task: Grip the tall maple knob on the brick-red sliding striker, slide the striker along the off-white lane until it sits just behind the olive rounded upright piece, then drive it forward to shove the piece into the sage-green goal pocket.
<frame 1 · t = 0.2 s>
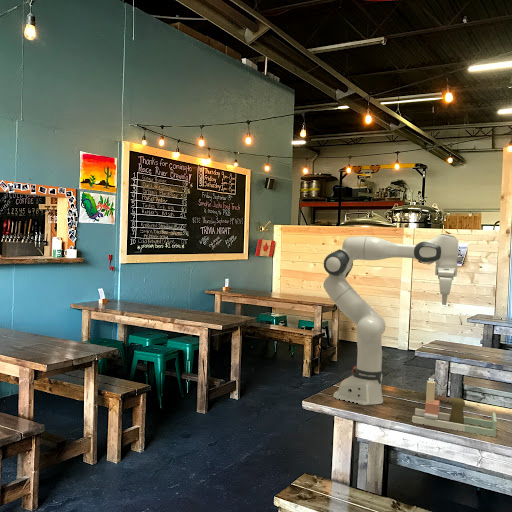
hand: (444, 303, 216), 47 cm above the table, tool pointing down, fingers open, 8 cm apart
striker: (432, 401, 204), point 8 cm above the table, slide at 0.0 cm
lane: (452, 425, 201), on the table
olive rounded upright piece: (456, 426, 200), resting in lane
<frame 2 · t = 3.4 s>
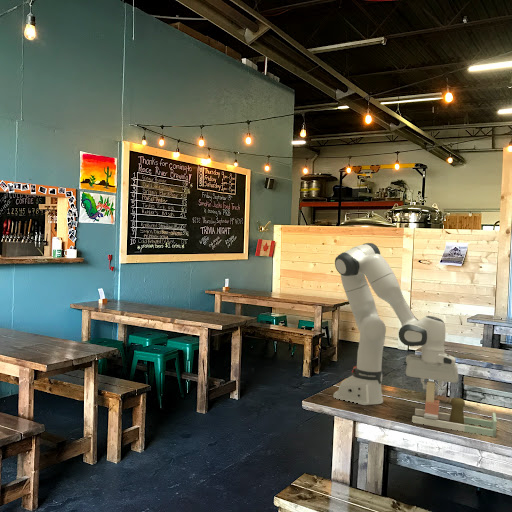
hand: (430, 390, 204), 13 cm above the table, tool pointing down, fingers closed on striker, 3 cm apart
striker: (432, 401, 204), point 8 cm above the table, slide at 0.0 cm, touching gripper
everything else where it was.
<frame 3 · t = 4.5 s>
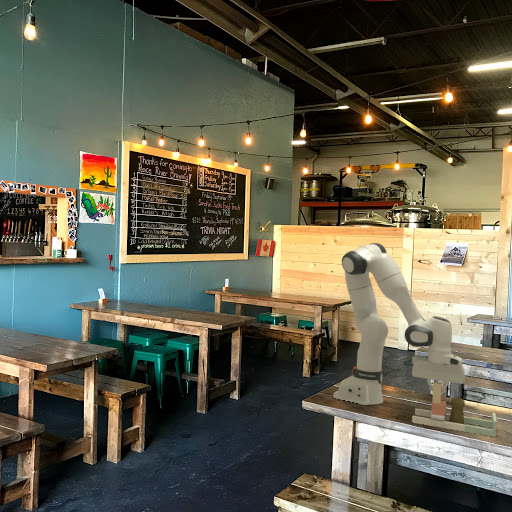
hand: (437, 391, 203), 13 cm above the table, tool pointing down, fingers closed on striker, 3 cm apart
striker: (439, 402, 203), point 8 cm above the table, slide at 2.5 cm, touching gripper
everything else where it was.
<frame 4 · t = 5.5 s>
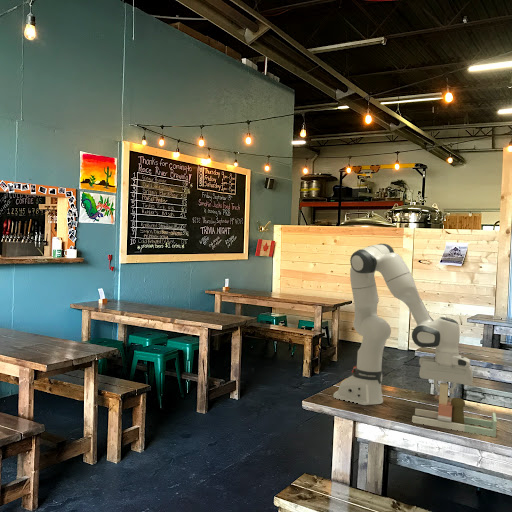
hand: (444, 392, 202), 13 cm above the table, tool pointing down, fingers open, 4 cm apart
striker: (445, 403, 202), point 8 cm above the table, slide at 5.0 cm, touching gripper, olive rounded upright piece
olive rounded upright piece: (456, 426, 200), resting in lane, touching striker
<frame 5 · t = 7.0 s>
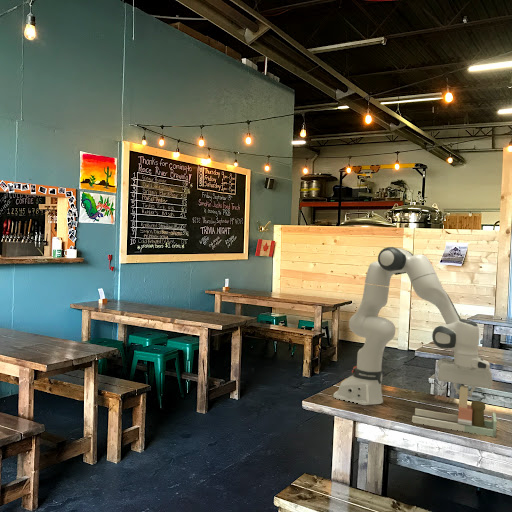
hand: (463, 395, 200), 13 cm above the table, tool pointing down, fingers closed on striker, 3 cm apart
striker: (465, 406, 199), point 8 cm above the table, slide at 12.4 cm, touching gripper, olive rounded upright piece
olive rounded upright piece: (476, 429, 197), resting in lane, touching striker
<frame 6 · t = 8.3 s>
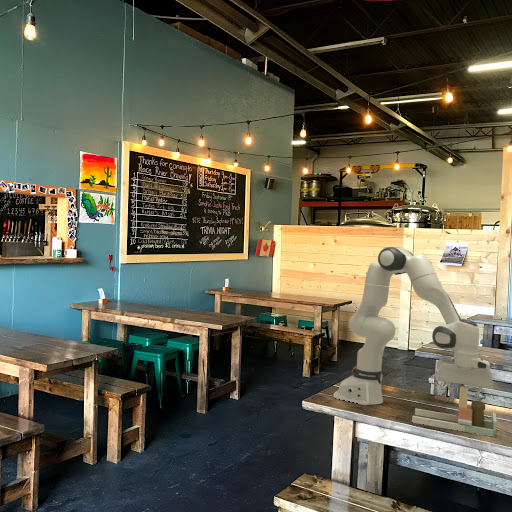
hand: (463, 395, 199), 13 cm above the table, tool pointing down, fingers open, 8 cm apart
striker: (465, 406, 199), point 8 cm above the table, slide at 12.4 cm
olive rounded upright piece: (476, 429, 197), resting in lane
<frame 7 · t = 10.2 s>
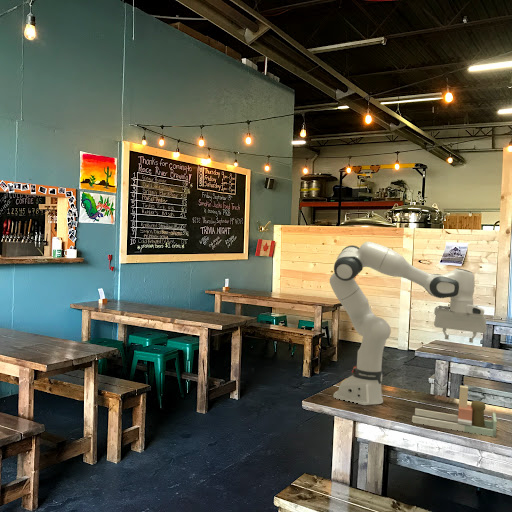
hand: (458, 340, 209), 33 cm above the table, tool pointing down, fingers open, 8 cm apart
nothing on the table moved.
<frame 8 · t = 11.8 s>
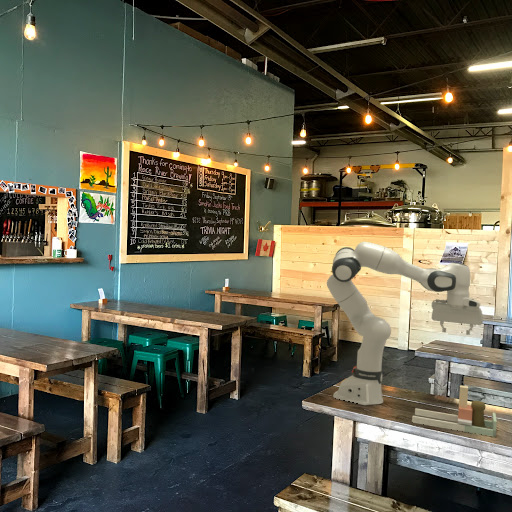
hand: (455, 333, 213), 35 cm above the table, tool pointing down, fingers open, 8 cm apart
nothing on the table moved.
at the end: olive rounded upright piece inside the target area (1.0 cm from its centre), resting in lane; olive rounded upright piece tilted 0°; striker slide at 12.4 cm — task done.
